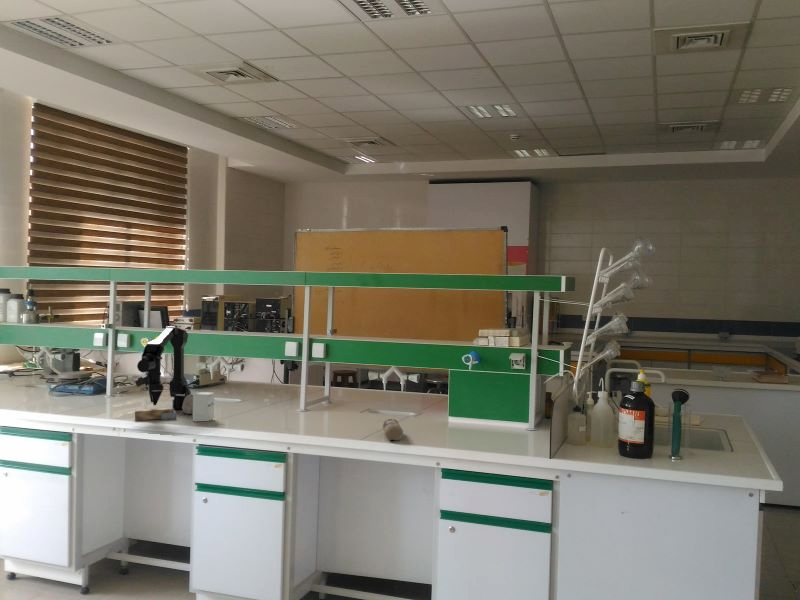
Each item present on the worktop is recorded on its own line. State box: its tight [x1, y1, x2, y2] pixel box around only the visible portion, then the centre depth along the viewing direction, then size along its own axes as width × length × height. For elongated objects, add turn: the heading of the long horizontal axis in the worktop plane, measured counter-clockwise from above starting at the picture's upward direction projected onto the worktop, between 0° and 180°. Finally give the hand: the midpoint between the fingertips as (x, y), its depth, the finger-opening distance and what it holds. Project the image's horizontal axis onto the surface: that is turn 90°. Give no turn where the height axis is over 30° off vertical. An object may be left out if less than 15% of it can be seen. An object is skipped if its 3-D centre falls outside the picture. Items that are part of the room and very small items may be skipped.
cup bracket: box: [160, 409, 177, 421], centre depth 341 cm, size 7×7×3 cm
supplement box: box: [192, 391, 215, 422], centre depth 337 cm, size 7×7×13 cm
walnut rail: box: [134, 407, 173, 421], centre depth 338 cm, size 16×4×4 cm, turn 110°
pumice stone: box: [182, 393, 193, 415], centre depth 352 cm, size 15×8×10 cm, turn 71°
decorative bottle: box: [382, 418, 404, 441], centre depth 313 cm, size 26×8×7 cm, turn 5°
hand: (153, 403), depth 338 cm, fingers open, 9 cm apart
